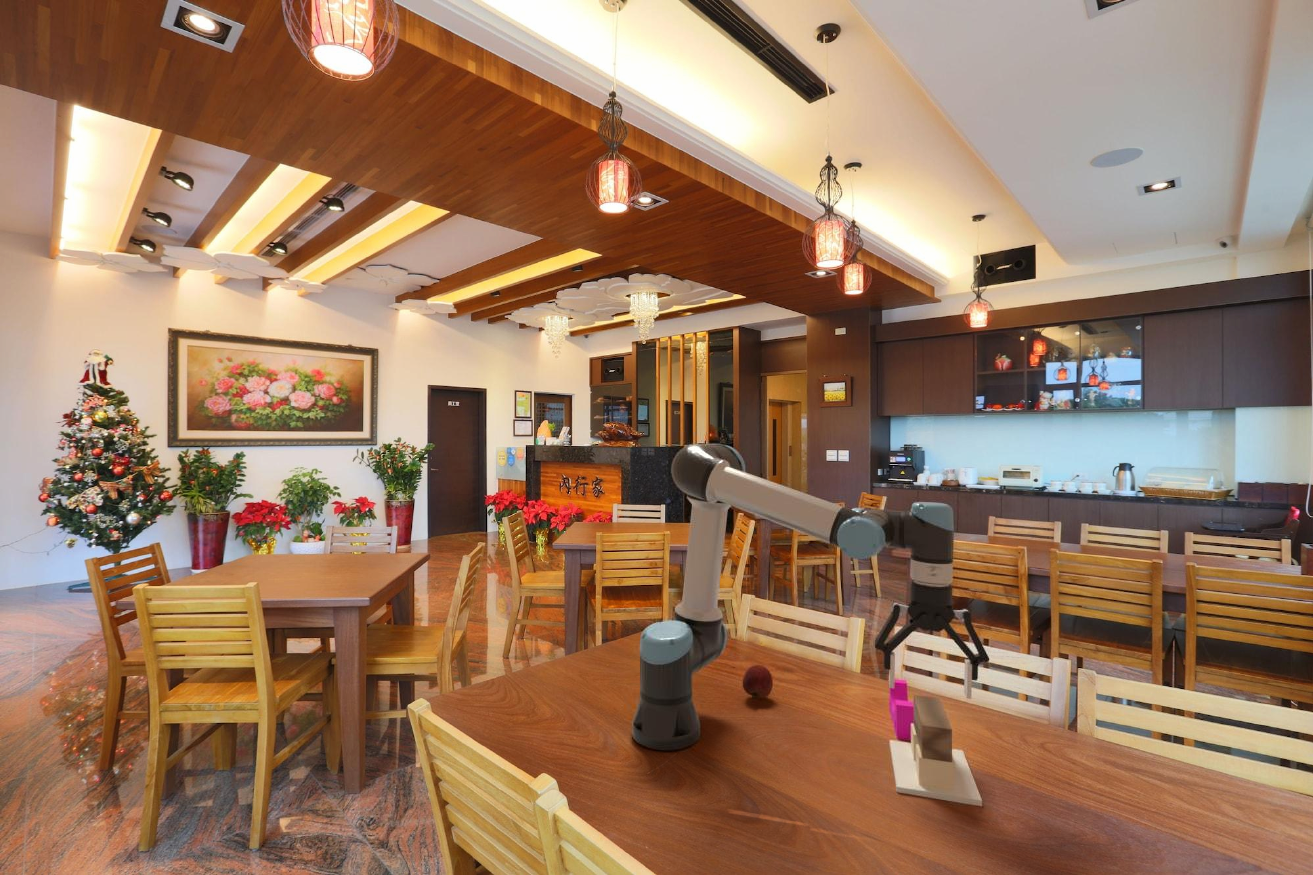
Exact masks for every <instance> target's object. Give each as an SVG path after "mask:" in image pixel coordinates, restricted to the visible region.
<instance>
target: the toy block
mask: <svg viewBox="0 0 1313 875" xmlns="http://www.w3.org/2000/svg"><path fill="white" fill-rule="evenodd" d="M908 694H909V693H908V683H907V680H905V679H898V678H894V688H890V684H889V683H888V697H889V698H888V700H889V703H888V705H889V706H888V709H889V714H890V717H891V722H892V725H893V729H894V733H895V737H896V739H897V740H907V741H911V723H913V724H914V701H910V700H909V697H908Z"/></svg>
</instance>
